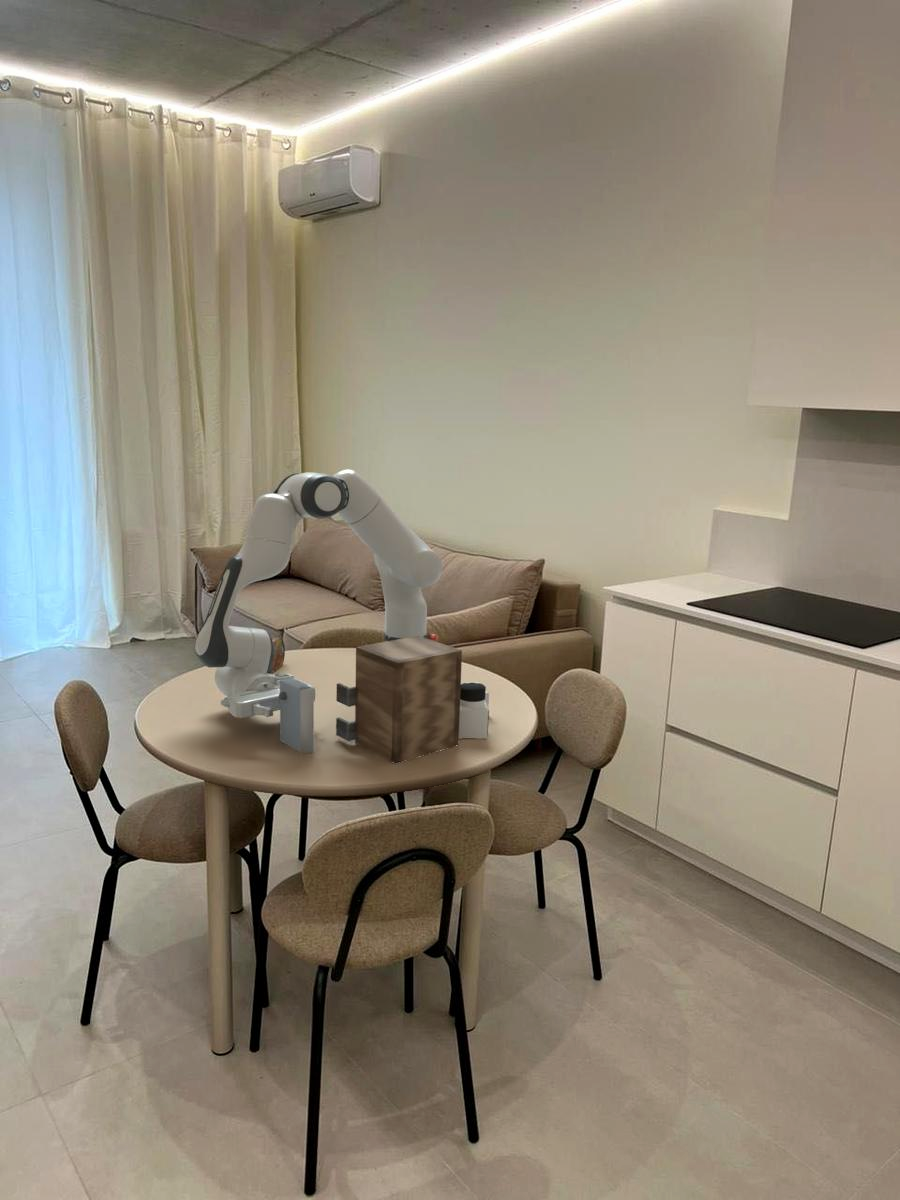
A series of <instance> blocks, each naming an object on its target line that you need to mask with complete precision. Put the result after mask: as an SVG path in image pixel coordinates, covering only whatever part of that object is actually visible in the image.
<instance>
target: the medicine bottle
mask: <svg viewBox="0 0 900 1200" xmlns="http://www.w3.org/2000/svg"><path fill="white" fill-rule="evenodd" d="M486 687H487V686H485V684H483V683H481V682H478V681H466V682H463V683H461V690H460V717H459V740H463V739H462V738H487V739H488V738H489V720H490V719H489V718H490V716H489V715H490V709H489V705H488V706H487V704H486V701H485V694H486V691H487V690H486V689H487V688H486Z"/></svg>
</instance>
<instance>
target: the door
mask: <svg viewBox="0 0 900 1200" xmlns="http://www.w3.org/2000/svg"><path fill="white" fill-rule="evenodd" d="M295 679H296V678H294V679H293V678H289V679H284V680H280V694H279V698H280V710H279V712H280V714H279V717H280V721H279V722H280V723H279V724H280V725H279V730H280V733H279V734H280V735H279V736H280V737H279V738H280V739H279V741H281V742H282V743H284V744H285V745H287V746H289V747H291V748H292V749H294V750H296V751H297V752H299V753H301V754H311V753H314V750H315V749H314V748H315V747H314V746H315V745H314V741H315V740H314V738H315V737H314V735H315V733H314V729H315V728H314V724H315V723H314V718H315V717H314V716H315V715H314V712H315V711H314V710H315V705H314V704H315V701H314V688H315V687H314V688H312V687H310V686H308V685H306V684H304V683H302V682H299V681H297V680H295Z"/></svg>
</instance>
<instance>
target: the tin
mask: <svg viewBox="0 0 900 1200" xmlns="http://www.w3.org/2000/svg"><path fill="white" fill-rule="evenodd" d="M271 638H272V640H273V643H274V646H275V656H274V660H273V663H272V666H271V668H270V670H269V672H268V673H269V674H273V673H274V672H275V673H276V672H277V671H278V670H279V669H280V668H281V667H282V666H283V664H284V662H285V655H286V653H285V652H286V649H285V647H286V646H285V643H284V639H283V638H282V637H271ZM276 670H277V671H276ZM275 673H274V674H275Z"/></svg>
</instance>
